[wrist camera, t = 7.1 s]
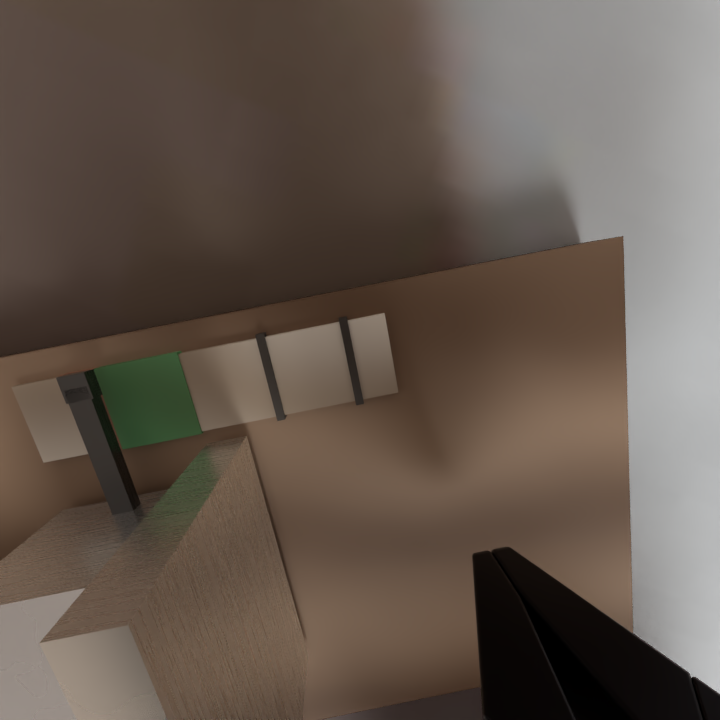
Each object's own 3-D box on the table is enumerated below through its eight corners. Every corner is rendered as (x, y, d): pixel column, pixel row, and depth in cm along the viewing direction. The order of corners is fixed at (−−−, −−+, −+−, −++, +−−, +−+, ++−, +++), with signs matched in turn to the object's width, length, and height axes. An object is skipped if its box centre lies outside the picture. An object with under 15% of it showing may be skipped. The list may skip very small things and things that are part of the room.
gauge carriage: (308, 653, 10) (278, 986, 5) (-4, 717, 10) (-317, 1111, 5) (220, 342, 8) (45, 426, 3) (-170, 418, 8) (-916, 617, 3)
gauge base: (600, 612, 13) (853, 936, 6) (-56, 746, 13) (-458, 1214, 6) (582, 242, 10) (1001, 172, 4) (-264, 409, 10) (-1377, 640, 3)
